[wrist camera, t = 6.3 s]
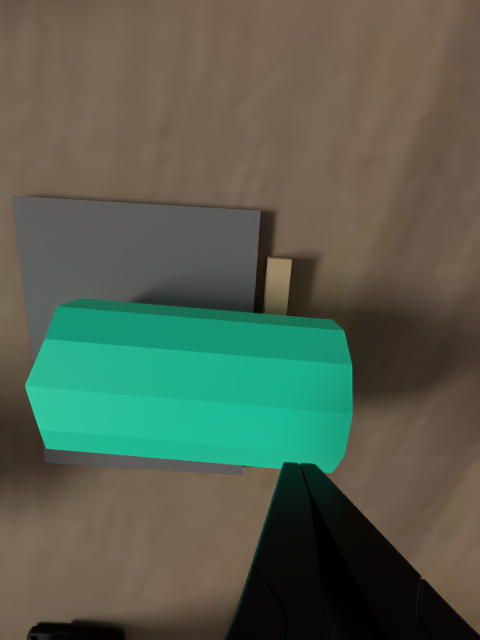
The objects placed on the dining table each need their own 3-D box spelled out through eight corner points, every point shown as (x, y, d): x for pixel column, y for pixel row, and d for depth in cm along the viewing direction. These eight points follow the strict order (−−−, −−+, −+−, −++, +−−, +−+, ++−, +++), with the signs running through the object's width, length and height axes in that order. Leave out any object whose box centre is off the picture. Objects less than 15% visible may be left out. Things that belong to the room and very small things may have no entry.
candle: (312, 478, 14) (44, 455, 14) (308, 354, 17) (86, 336, 17) (363, 464, 9) (-61, 428, 9) (344, 290, 12) (26, 263, 12)
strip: (270, 438, 18) (272, 453, 17) (253, 437, 18) (253, 451, 17) (288, 257, 15) (292, 259, 14) (267, 256, 15) (269, 258, 14)
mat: (241, 467, 18) (241, 474, 18) (51, 455, 18) (45, 463, 18) (260, 211, 15) (260, 210, 14) (21, 197, 15) (12, 195, 14)
